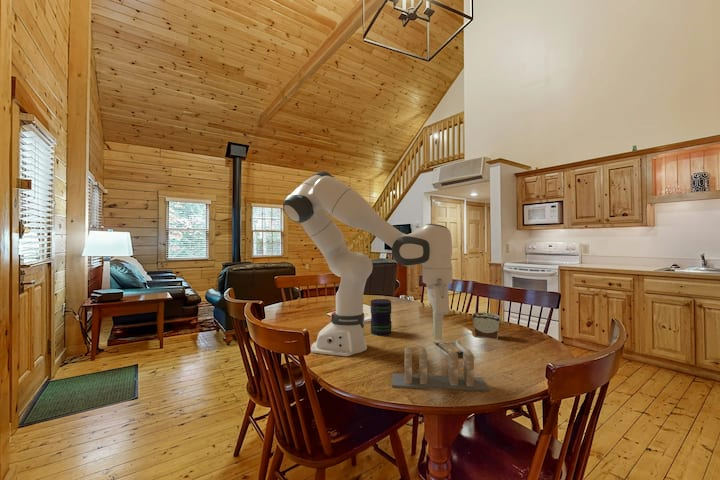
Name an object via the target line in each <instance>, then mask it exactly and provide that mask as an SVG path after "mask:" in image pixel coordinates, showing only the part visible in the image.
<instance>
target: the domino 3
mask: <svg viewBox="0 0 720 480" xmlns="http://www.w3.org/2000/svg"><path fill="white" fill-rule="evenodd" d="M447 351H448V356H447V359H448V360H447V370H448V371H447V376H448V378H449V381H450V383H451V385H457V386H458V376H459V357H458V354H457V352H458V351H457V350H456V349H455V348H448V349H447Z"/></svg>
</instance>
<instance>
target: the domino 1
mask: <svg viewBox="0 0 720 480" xmlns="http://www.w3.org/2000/svg"><path fill="white" fill-rule="evenodd" d="M404 374H405V383H410V384H412V374H413V353H412V347H404Z"/></svg>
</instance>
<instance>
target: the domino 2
mask: <svg viewBox="0 0 720 480" xmlns="http://www.w3.org/2000/svg"><path fill="white" fill-rule="evenodd" d="M418 375H419V379H420V384H427V375H428V352H427V349H426V347H425V348H424V347H419V348H418Z"/></svg>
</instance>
